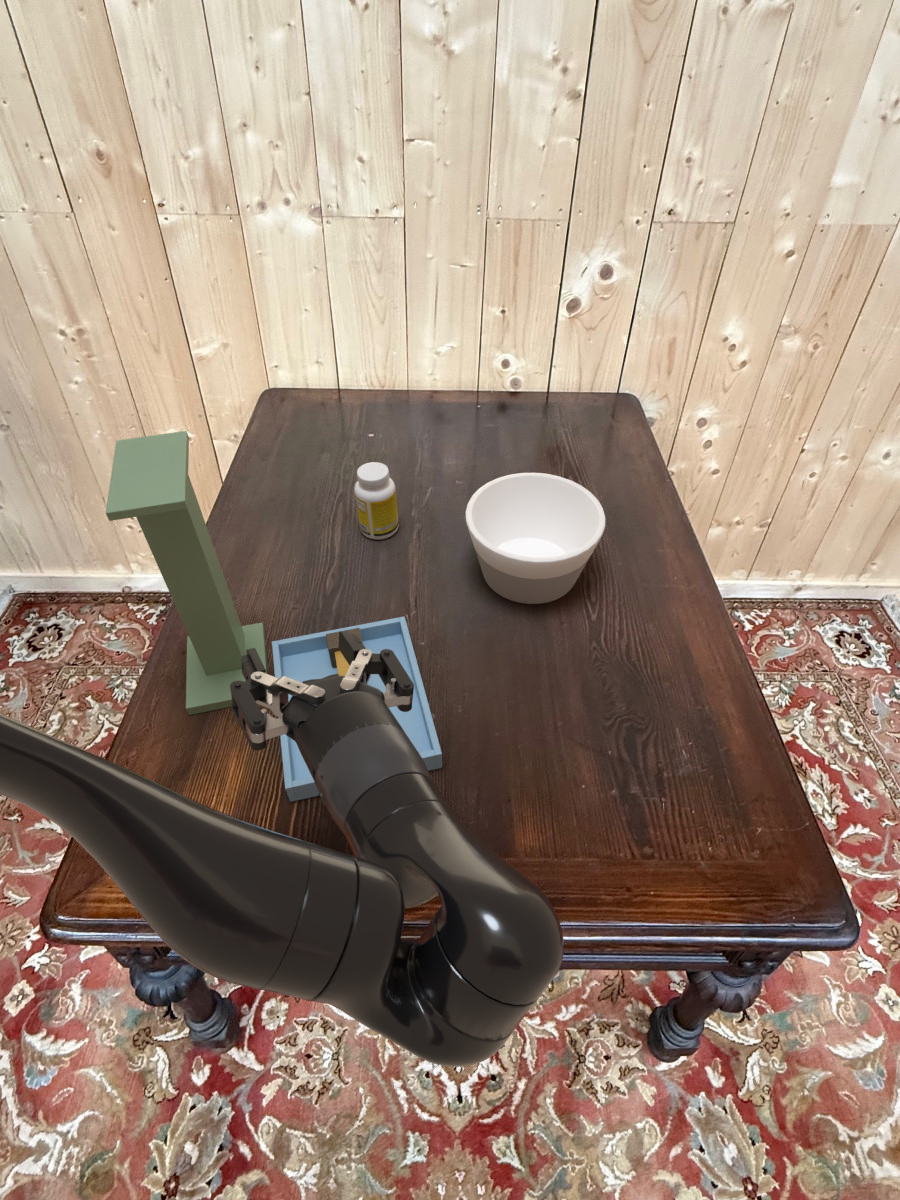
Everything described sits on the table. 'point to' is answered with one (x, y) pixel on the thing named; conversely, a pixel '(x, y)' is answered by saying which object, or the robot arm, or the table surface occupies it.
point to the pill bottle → (376, 501)
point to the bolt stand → (184, 563)
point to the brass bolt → (335, 653)
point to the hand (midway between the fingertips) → (297, 647)
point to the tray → (313, 662)
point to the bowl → (533, 534)
